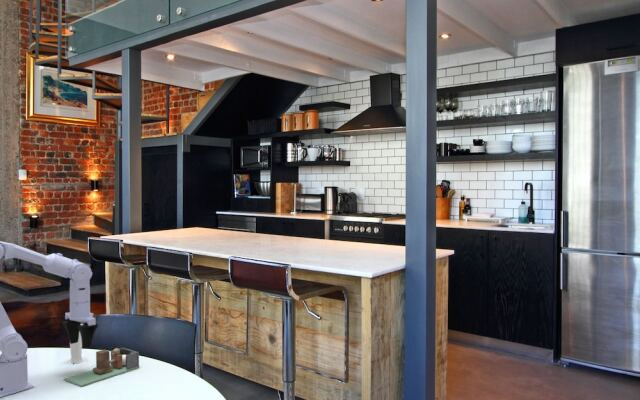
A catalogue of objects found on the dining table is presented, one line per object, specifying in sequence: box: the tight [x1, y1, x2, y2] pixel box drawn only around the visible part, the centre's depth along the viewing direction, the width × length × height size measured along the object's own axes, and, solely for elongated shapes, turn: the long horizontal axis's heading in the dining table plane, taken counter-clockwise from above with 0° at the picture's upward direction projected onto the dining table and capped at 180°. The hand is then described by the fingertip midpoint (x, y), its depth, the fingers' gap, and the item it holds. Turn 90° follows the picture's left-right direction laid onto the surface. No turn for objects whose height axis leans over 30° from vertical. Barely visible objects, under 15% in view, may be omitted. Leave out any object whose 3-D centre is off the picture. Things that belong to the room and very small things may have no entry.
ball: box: [122, 355, 126, 366], centre depth 165 cm, size 4×4×4 cm
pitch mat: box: [63, 364, 139, 388], centre depth 159 cm, size 19×10×1 cm, turn 144°
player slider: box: [92, 347, 122, 374], centre depth 161 cm, size 8×4×6 cm, turn 144°
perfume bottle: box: [69, 323, 84, 365], centre depth 171 cm, size 5×4×15 cm
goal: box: [110, 347, 140, 370], centre depth 165 cm, size 4×9×5 cm, turn 54°
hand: (80, 345), depth 159 cm, fingers open, 7 cm apart
